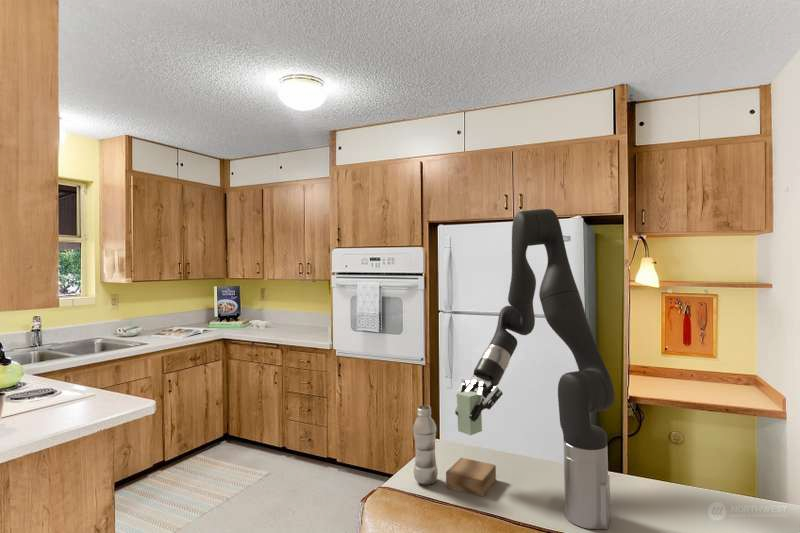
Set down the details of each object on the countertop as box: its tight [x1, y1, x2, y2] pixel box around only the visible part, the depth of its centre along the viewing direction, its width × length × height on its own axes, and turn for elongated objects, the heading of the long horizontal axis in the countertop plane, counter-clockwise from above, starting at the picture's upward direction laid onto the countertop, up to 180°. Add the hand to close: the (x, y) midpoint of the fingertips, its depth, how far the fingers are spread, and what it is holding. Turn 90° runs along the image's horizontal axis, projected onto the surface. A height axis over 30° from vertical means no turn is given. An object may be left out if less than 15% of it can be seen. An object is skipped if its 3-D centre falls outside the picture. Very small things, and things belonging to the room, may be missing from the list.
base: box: [445, 457, 497, 497], centre depth 119 cm, size 10×10×4 cm
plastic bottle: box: [412, 405, 439, 485], centre depth 121 cm, size 6×7×20 cm
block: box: [456, 391, 483, 436], centre depth 121 cm, size 4×4×10 cm
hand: (464, 417), depth 120 cm, fingers closed on block, 4 cm apart
